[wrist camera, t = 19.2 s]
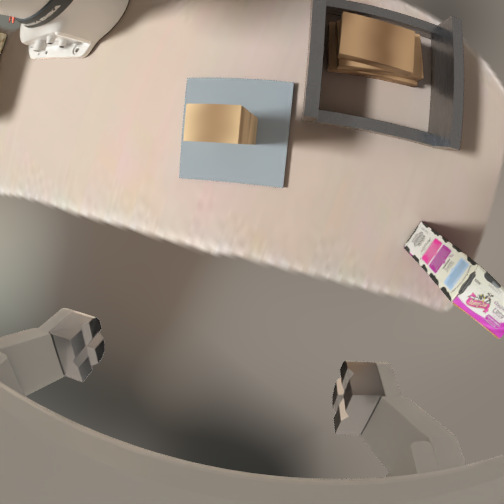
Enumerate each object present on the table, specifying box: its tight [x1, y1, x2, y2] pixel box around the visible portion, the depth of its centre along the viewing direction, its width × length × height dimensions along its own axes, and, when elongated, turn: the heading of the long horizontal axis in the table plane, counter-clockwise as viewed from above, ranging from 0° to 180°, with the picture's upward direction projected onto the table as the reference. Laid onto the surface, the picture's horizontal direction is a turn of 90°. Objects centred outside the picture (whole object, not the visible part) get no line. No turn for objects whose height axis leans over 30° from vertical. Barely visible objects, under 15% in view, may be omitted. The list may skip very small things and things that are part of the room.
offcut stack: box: [327, 11, 424, 87], centre depth 29 cm, size 12×7×6 cm, turn 87°
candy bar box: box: [404, 221, 504, 339], centre depth 32 cm, size 11×5×16 cm, turn 61°
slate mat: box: [179, 78, 294, 188], centre depth 38 cm, size 14×14×1 cm
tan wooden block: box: [183, 104, 258, 145], centre depth 31 cm, size 5×4×13 cm
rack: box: [302, 0, 464, 150], centre depth 29 cm, size 19×18×7 cm
